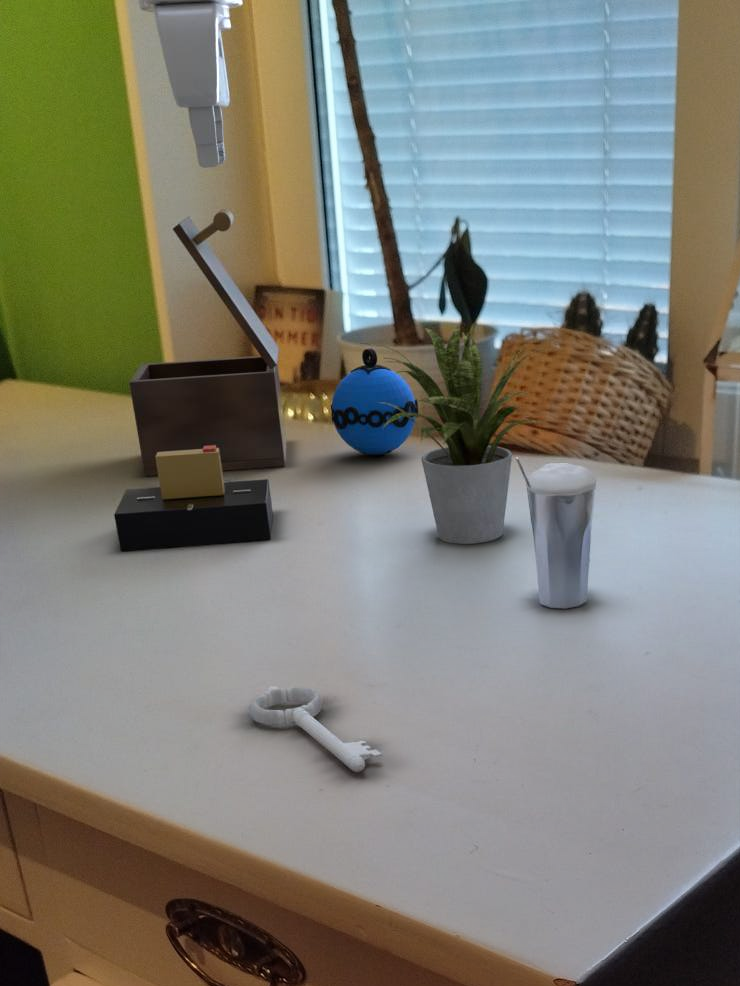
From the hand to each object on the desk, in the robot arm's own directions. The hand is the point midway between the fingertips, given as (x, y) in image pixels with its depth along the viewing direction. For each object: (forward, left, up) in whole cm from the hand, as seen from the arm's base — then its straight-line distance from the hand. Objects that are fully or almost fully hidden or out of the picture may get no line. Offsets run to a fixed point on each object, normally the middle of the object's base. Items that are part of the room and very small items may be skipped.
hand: (213, 165), depth 120 cm
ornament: (+13, -3, -26) cm, 29 cm away
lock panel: (-3, -27, -26) cm, 38 cm away
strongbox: (-3, 0, -26) cm, 26 cm away
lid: (0, 0, -11) cm, 11 cm away
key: (+6, -71, -26) cm, 76 cm away
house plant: (+18, -33, -26) cm, 46 cm away
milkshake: (+23, -52, -26) cm, 63 cm away
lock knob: (-3, -27, -23) cm, 36 cm away
